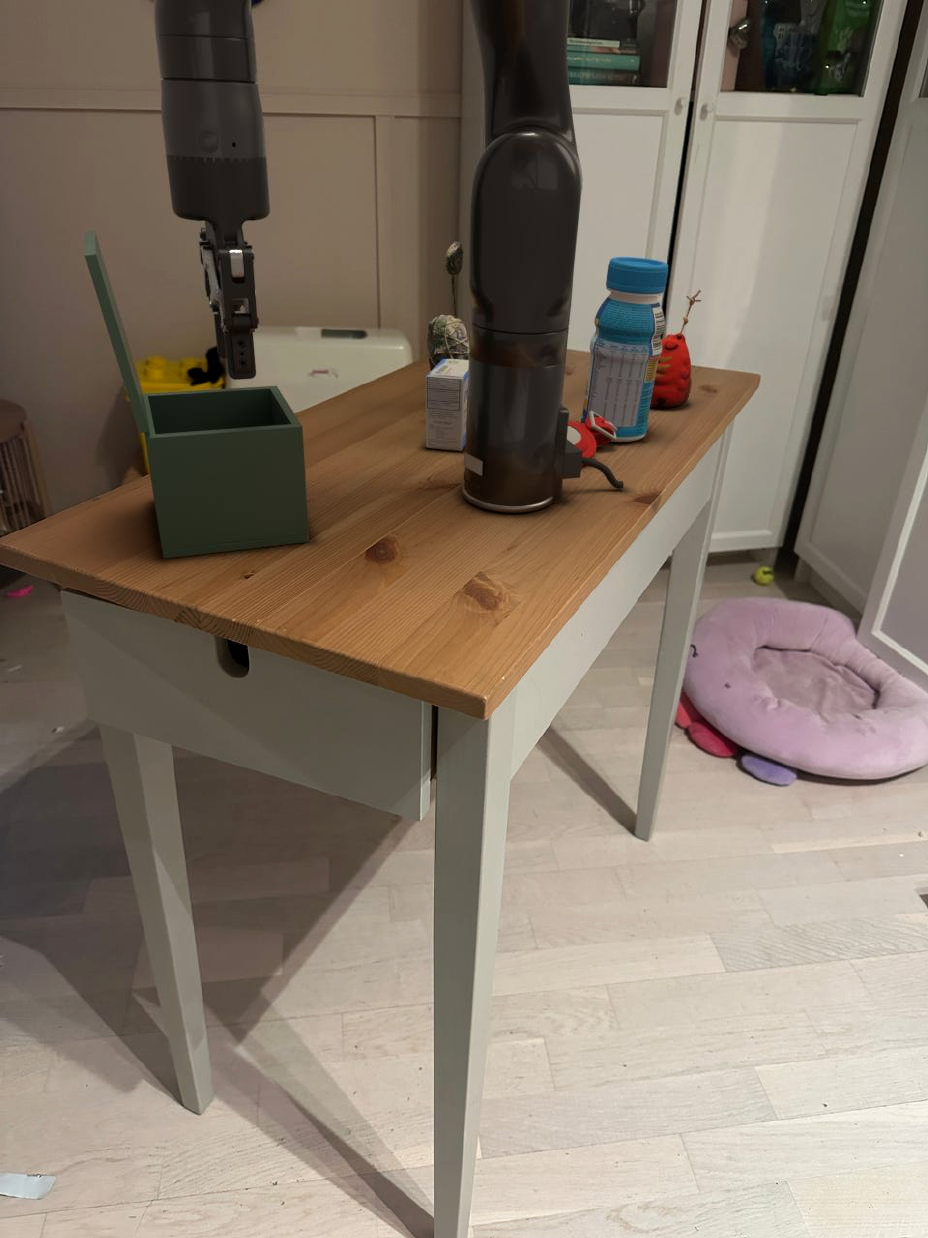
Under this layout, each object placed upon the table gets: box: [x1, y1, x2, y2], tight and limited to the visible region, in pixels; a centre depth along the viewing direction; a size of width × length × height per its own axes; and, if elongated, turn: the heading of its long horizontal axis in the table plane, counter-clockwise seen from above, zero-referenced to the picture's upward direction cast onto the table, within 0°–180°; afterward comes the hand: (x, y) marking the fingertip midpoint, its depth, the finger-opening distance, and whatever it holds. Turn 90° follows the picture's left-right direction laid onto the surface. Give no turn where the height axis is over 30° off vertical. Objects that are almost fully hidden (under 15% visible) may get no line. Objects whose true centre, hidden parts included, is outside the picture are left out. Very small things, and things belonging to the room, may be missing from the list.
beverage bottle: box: [580, 256, 669, 443], centre depth 105 cm, size 8×8×20 cm
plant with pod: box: [426, 241, 470, 372], centre depth 112 cm, size 8×11×20 cm
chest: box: [143, 385, 310, 560], centre depth 80 cm, size 13×13×11 cm
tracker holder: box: [567, 411, 617, 467], centre depth 103 cm, size 12×4×10 cm
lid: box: [84, 230, 149, 434], centre depth 72 cm, size 13×13×1 cm
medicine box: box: [425, 359, 469, 452], centre depth 103 cm, size 8×4×9 cm, turn 168°
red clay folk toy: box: [650, 289, 702, 409], centre depth 118 cm, size 8×7×15 cm
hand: (236, 366), depth 76 cm, fingers open, 6 cm apart
